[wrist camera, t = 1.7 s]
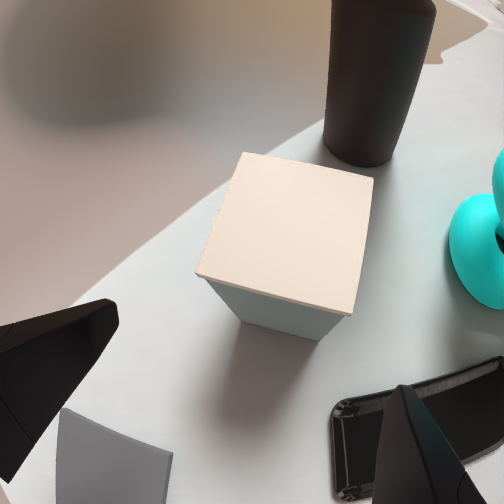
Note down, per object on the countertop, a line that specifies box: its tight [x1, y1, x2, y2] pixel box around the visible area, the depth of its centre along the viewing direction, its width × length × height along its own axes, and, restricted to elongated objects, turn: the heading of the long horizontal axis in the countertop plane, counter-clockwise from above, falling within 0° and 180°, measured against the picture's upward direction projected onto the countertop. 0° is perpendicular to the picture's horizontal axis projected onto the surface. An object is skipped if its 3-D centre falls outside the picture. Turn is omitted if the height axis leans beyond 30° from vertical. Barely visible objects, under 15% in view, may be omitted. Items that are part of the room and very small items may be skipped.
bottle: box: [323, 0, 436, 167], centre depth 16 cm, size 7×7×20 cm
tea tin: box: [195, 152, 374, 341], centre depth 16 cm, size 6×6×10 cm
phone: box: [331, 356, 504, 501], centre depth 15 cm, size 8×1×15 cm
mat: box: [56, 408, 173, 504], centre depth 15 cm, size 12×10×1 cm
